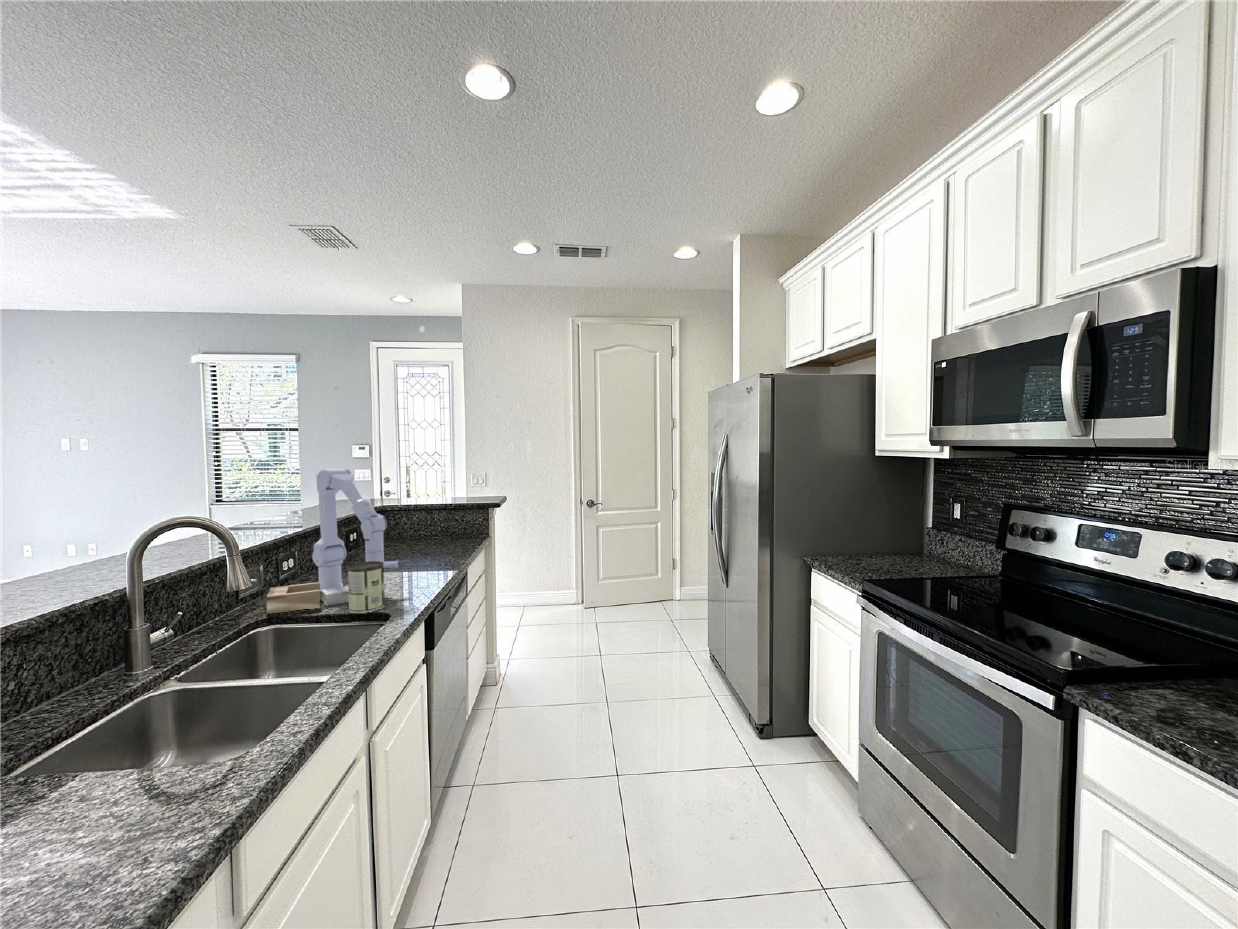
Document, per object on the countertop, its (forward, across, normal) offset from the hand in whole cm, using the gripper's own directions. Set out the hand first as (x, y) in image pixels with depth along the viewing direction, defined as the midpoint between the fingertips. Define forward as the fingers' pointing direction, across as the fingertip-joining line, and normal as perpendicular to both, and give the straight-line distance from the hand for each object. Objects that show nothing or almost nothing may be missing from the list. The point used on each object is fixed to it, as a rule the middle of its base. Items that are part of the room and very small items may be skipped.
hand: (375, 590), depth 180 cm
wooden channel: (+2, -24, 0) cm, 24 cm away
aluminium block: (+2, -11, 0) cm, 11 cm away
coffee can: (+2, -4, -15) cm, 16 cm away
